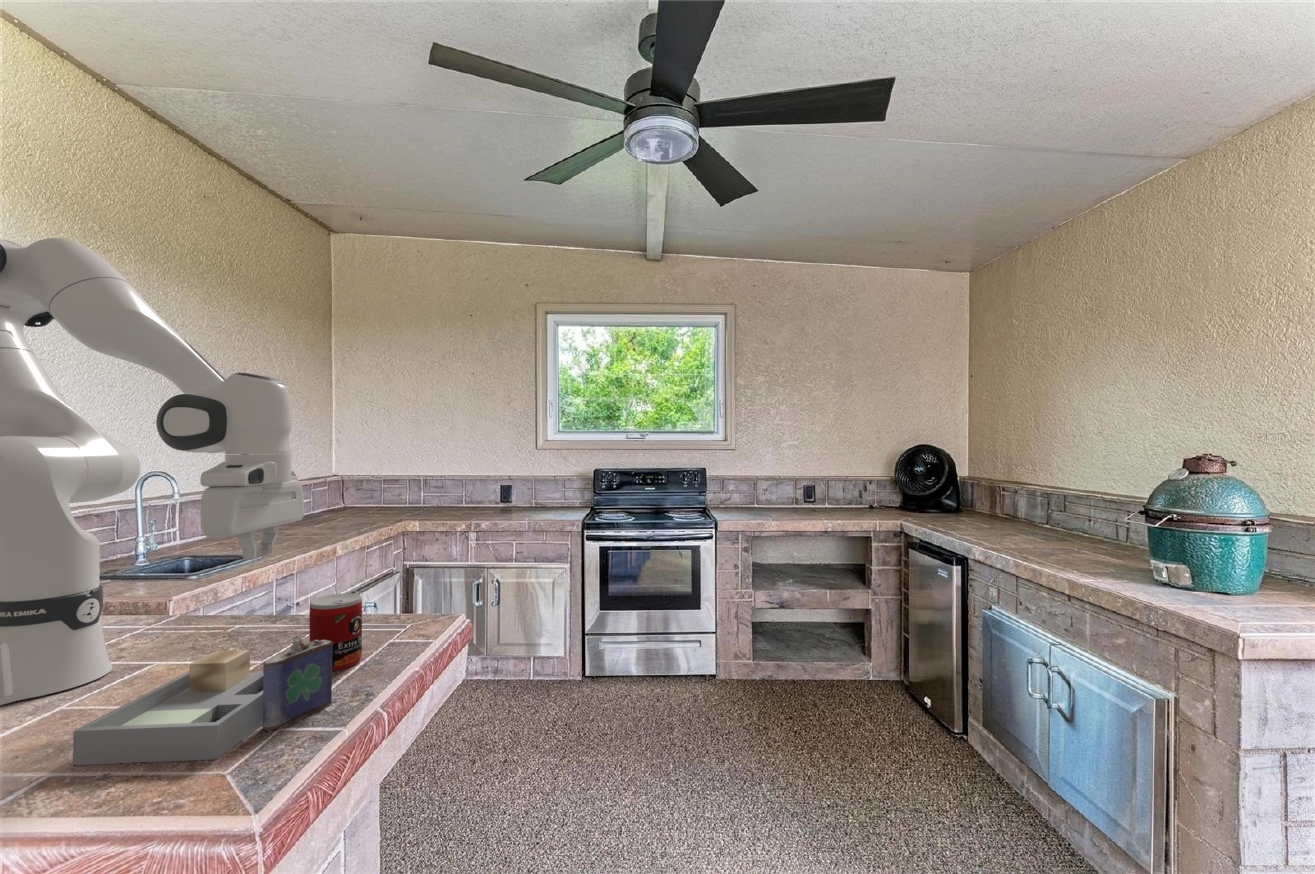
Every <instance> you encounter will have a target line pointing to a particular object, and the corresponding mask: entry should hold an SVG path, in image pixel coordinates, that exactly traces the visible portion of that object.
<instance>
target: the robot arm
mask: <svg viewBox="0 0 1315 874" xmlns="http://www.w3.org/2000/svg"><path fill="white" fill-rule="evenodd" d="M53 320H55V321H56V322H57V323H58V324H59V325H60V327H61V328H63V330H65V331H66V333H68V334H69V335H70V336H71V337H73V338H74V339H75V340H77V341H78V342H80V343H81V344H82V345H84V346H86V347H87V348H89V349H91V350H93V351H95V352H98V353H101V354H104V355H107V356H109V357H114V358H116V359H120V360H123V361H126V362H129V363H133V364H135V365H138V366H140V367H143V368H146V369H149V370H151V371H153V372H155V373H158V374H159V375H161V376H163V377H164V378H166V379H167V380H168V381H170V382H171V383H172V384H174V385H175V386H176V387H177V388H178V389H179V390H180V391H181V392H182V393H180V394H176V395H174V396H171V397H170V398H169V399H167V400H166V401H165V402H164V403H163V404H162V405H161V407H160V408H159V410H158V412H157V414H156V420H155V422H156V430H157V433H158V436H159V437H160V439H161V441H163V442H164V443H165V444H166V445H167V446H168V447H170V448H171V449H173V450H177V451H182V452H185V453H208V454H216V453H217V454H220V453H221V454H223V453H224V454H225V455H224V457H225V459H224V461H222V462H220V463H219V464H217V465H215V466H213V467H211V468H209V469H207V470H205V471H203V472H201V474H200V477H199V478H200V485H201V486H202V487H205V489H204V490H203V492H202V495H201V499H200V527H201V531H202V533H203V534H204V536H205V537H206V538H230V537H234V536H236V540H237V542H238V544H239V545H240V547H241V549H242V559H244V560H247V561H248V560H251V561H252V560H255V559H258V558H260V557H261V556H268V555H272V554H273V553H274V552H275V542H276V541H277V538H278V535H279V533H280V526H283V525H287V524H291V523H296V522H299V521H302V520H303V518H304V515H305V502H304V501H305V500H304V491H303V487H302V483H301V481H300V480H299V476H297V475H296V473H295V472H294V470H292V449H291V447H290V441H289V438H290V434H291V431H292V428H293V427H292V425H293V424H292V423H293V422H292V421H293V420H292V403H291V396H290V393H289V389H288V386H287V385H286V384H285V383H284V382H283V381H282V380H280V379H278V378H274V377H269V376H263V375H260V374H259V375H258V374H255V373H248V372H236V373H232V374H230V375H229V376H227V378H225V377H224V376H223V374H222V373H221V372H220V371H219V370H217V368H215V367H214V366H213V365H212V364H211V362H209V361H208V360H207V359H206V358H205V357H204V356H203V355H202V354H201V353H200V352H199V351H198V350H197V349H196V348H194V347H193V346H192V345H191V344H190V343H189V342H188V341H186V340H185V339H184V338H183V336H180V334H179V333H178V332H177V331H176V330H175V329H174V328H173V327H172V326H171V325H169V324H168V323H167V322H166V321H165V320H164V318H162V317H161V316H160V315H159V313H157V311H156V310H155V309H153V307H152V306H151V305H150V304H149V303H148V301H146V300H145V298H143V297H142V296H141V294H140V292H138V291H137V289H135V288H134V286H132V284H131V283H130V281H128V280H127V279H126V278H125V277H124V276H123V275H122V274H121V273H120V272H119V271H118V270H117V269H116V268H115V267H113V266H112V265H111V264H110V263H109V262H108V261H107V260H105V258H103V257H102V256H101V255H99V254H98V253H97V252H96V251H95V250H93V249H92V248H90V247H89V246H87V245H85V243H82V242H79V241H76V240H74V239H71V238H70V239H69V238H64V237H48V238H43V239H39V240H37V241H35V242H32V243H31V244H29V245H28V246H24V245H22V244H18V243H15V242H13V241H10V240H6V239H2V238H0V706H3V705H7V704H11V703H13V702H17V701H18V702H19V701H21V700H22V701H23V700H26V699H27V700H28V699H32V698H38V697H42V696H46V695H50V694H54V693H58V692H62V691H66V690H69V689H73V688H76V687H79V686H82V685H85V684H87V683H90V682H93V681H95V680H97V679H100V678H102V677H103V676H105V675H107V674H109V673H110V672H111V671H112V670H113V668H114V667H113V665H112V663H111V661H110V658H109V653H108V650H107V645H106V641H105V635H104V630H103V629H104V627H103V624H102V618H101V614H102V611H103V610H102V609H103V607H104V596H105V595H104V594H105V593H104V588H103V585H101V584H100V571H101V570H100V566H101V565H100V563H101V562H100V558H101V556H100V555H101V554H100V550H101V547H100V546H101V545H100V540H99V539H98V538H97V536H96V535H94V534H93V533H92V532H90V531H87V530H85V529H83V528H81V527H80V526H79V524H78V523H77V522H76V520H75V519H74V517H73V514H72V511H71V507H70V504H78V503H87V502H96V501H100V500H104V499H106V498H110V497H113V496H116V495H118V494H122V493H124V492H126V491H128V490H130V489H131V488H132V487H133V486H134V485H135V484H136V482H138V480H139V476H140V474H141V462H140V461H141V460H140V459H139V457H138V455H137V453H136V452H135V451H134V449H132V447H130V446H128V445H126V444H124V443H122V442H120V441H118V440H115V439H113V438H112V437H110V436H109V435H107V434H105V433H104V432H103V431H101V430H100V429H99V428H97V427H96V426H95V425H93V423H91V422H90V421H88V419H87V418H85V417H84V416H83V415H82V414H81V413H80V412H79V411H78V410H76V409H75V407H73V406H72V405H71V404H70V403H69V402H68V401H67V399H65V397H64V396H63V395H62V394H61V392H60V391H59V390H58V388H57V387H56V385H55V383H54V382H53V381H52V379H51V377H50V376H49V374H48V372H47V370H45V368H44V366H43V365H42V363H41V362H40V360H39V358H38V357H37V354H36V353H35V351H34V350H33V348H32V347H31V346H30V344H29V342H28V341H27V339H26V336H25V333H24V329H25V328H24V327H25V326H26V327H30V328H40V327H41V328H42V327H45V326H47V325H49V324H50V323H51V322H52V321H53ZM38 323H39V324H38ZM257 531H260V533H261V534H262V536H261V539H260V543H258V544H256V543H257V542H256V540H255V538H257V535H258V534H257V533H258V532H257Z"/></svg>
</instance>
